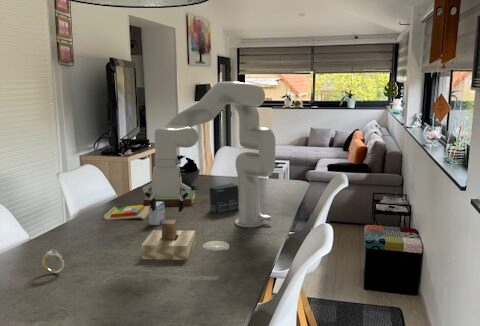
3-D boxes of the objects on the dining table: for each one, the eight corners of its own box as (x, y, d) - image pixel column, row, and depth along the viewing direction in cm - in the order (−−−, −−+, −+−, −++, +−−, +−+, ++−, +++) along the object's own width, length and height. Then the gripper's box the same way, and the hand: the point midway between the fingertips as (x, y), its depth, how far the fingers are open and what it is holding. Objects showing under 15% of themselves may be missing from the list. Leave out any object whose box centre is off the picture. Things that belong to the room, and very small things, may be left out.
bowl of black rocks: (167, 183, 275) (166, 153, 271) (200, 182, 277) (199, 152, 274) (165, 191, 255) (164, 158, 252) (200, 190, 257) (199, 157, 254)
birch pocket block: (195, 245, 169) (195, 230, 168) (187, 262, 153) (187, 246, 152) (154, 245, 170) (153, 230, 169) (142, 261, 155) (141, 245, 153)
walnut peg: (177, 248, 164) (176, 219, 162) (174, 253, 159) (173, 223, 157) (165, 248, 164) (164, 219, 162) (162, 252, 160) (161, 223, 158)
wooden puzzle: (114, 210, 220) (114, 203, 220) (152, 210, 220) (152, 203, 219) (102, 220, 203) (102, 213, 202) (143, 220, 202) (143, 213, 202)
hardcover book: (143, 206, 226) (143, 199, 225) (151, 197, 244) (151, 190, 243) (193, 206, 225) (193, 199, 225) (197, 197, 244) (196, 190, 243)
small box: (232, 206, 223) (232, 182, 221) (240, 209, 217) (239, 185, 215) (209, 210, 216) (209, 186, 214) (216, 213, 210) (216, 189, 208)
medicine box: (158, 225, 194) (157, 206, 192) (149, 225, 195) (148, 205, 193) (165, 220, 202) (164, 201, 200) (156, 219, 202) (155, 201, 201)
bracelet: (41, 275, 144) (39, 251, 143) (46, 271, 148) (44, 248, 146) (62, 275, 144) (60, 252, 142) (66, 271, 147) (65, 248, 146)
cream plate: (230, 243, 171) (230, 241, 171) (227, 253, 161) (227, 250, 161) (204, 243, 172) (204, 240, 172) (200, 252, 162) (200, 250, 162)
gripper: (192, 161, 159) (193, 208, 162) (144, 161, 160) (146, 207, 163) (188, 165, 152) (189, 214, 154) (138, 164, 153) (140, 213, 156)
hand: (167, 210), depth 159 cm, fingers open, 9 cm apart
